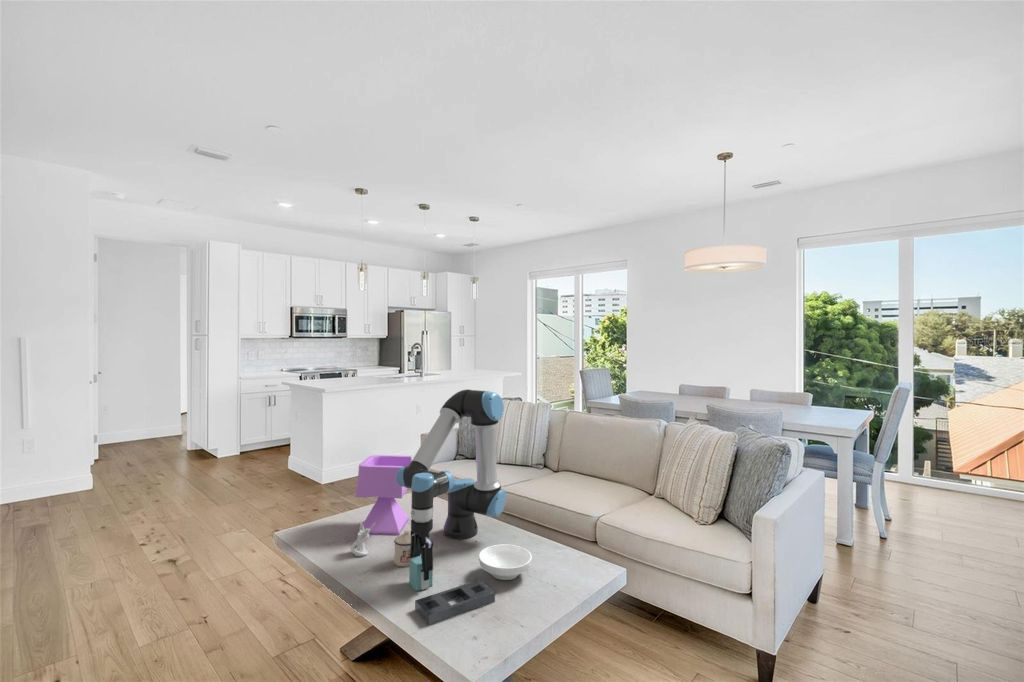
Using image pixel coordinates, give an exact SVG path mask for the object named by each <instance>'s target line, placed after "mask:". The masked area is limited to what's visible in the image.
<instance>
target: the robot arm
mask: <svg viewBox="0 0 1024 682" xmlns="http://www.w3.org/2000/svg"><path fill="white" fill-rule="evenodd" d="M503 412H504V402H503V399H502V397H501V396H500V394H499V393H497V392H493V391H490V390H479V389H477V390H476V389H463V390H459V391H457V392H456V393H454V394H453V395H451V396H450V397H449V398H448V399H447V400H446V401H445V402H444V404H443V405H442V407H441V408H440V410H439V416H438V418H436V421H435V422H434V424H433V426H432V427H431V429H430V430H429V432H428V434H427V435H426V437H425V438H424V440H423V442H422V444H421V445H420V446H419V448H418V450H417V452H416V453H415V455H414V456H413V457H412V461H411V463H410V464H409V466H403V467H401V468H400V469H399V470H398V472H397V475H396V481H397V483H398V484H399V485H400V486H403V487H406V488H408V489H411V508H410V510H411V511H410V512H409V513H410V515H411V516H410V519H411V520H410V534H411V546H410V557H411V558H413V557H417V556H421V559H422V569H423V570H421V590H420V591H423V590H427V589H429V588H430V587H429V571H431V570H434V559H433V558H434V557H433V556H434V554H433V553H434V549H433V548H434V541H431V540H430V535H429V534H430V532H432V530H433V529H434V527H433V526H434V525H433V523H434V519H433V518H434V498H437V497H438V496H442V495H443V494H445V493H447V516H446V519H445V522H444V525H443V531H442V532H443V535H444V536H445V537H448V538H451V539H454V540H455V539H456V540H464V539H465V540H466V539H470V538H472V537H475V536H476V535H478V531H479V530H478V529H479V528H478V527H479V526H478V523H477V520H476V516H475V514H478V515H481V516H482V515H483V516H486V517H492V518H493V517H494V518H497V517H499V516H500V515H501V514H502V512H503V511H504V509H505V506H506V503H507V500H508V499H507V497H508V496H507V495H508V493H507V492H506V490H504V489H502V483H501V481H500V480H499V479H498V471H497V467H498V466H497V441H496V440H497V439H496V426H497V425H498V424H499V421H500V420H501V419H502V418H503ZM463 418H470V424H471V426H473V427H474V439H475V441H474V442H475V457H476V458H475V461H476V481H475V479H473V478H471V477H470V478H468V477H467V478H458V479H455V475H454V474H453V473H452V472H451V471H450V470H441V471H439V472H437V471H432V470H430V468H431V467H432V465H433V464H434V462H435V460H436V458H437V456H438V455H439V453H440V451H441V450H442V448H443V446H444V445H445V443H446V442H447V440H448V438H449V436H450V434H451V432H452V431H453V429H454V428H455V426H456V424H459V423H460V422H461V421H462V419H463Z"/></svg>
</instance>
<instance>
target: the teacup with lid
mask: <svg viewBox="0 0 1024 682" xmlns="http://www.w3.org/2000/svg"><path fill="white" fill-rule="evenodd" d="M393 542H394V564H395V565H396V566H397V567H403V568H404V567H405V568H407V567H410V558H411V557H410V546H411V532H410V531H409V530H406V531H403V533H400V534H399V535H396V537H394V541H393Z"/></svg>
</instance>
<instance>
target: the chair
mask: <svg viewBox="0 0 1024 682" xmlns="http://www.w3.org/2000/svg"><path fill="white" fill-rule="evenodd" d="M412 460H413V456H412V455H394V454H393V455H388V454H387V455H386V454H377V455H376V454H374V455H369V456H367V458H365V459H364V460H363V461H361V463H359V465H358V474H357V483H356V489H355V498H372V497H374V498H377V500H375V503H374V505H372V508H371V510H370V511H369V513H368V514H367V517H366V518H365V520H364V521H363V522H362V523H363V527H364V530H365V529H367V528H368V529H370V528H371V527H372V525H373V524H374V523H375V525H374V526H373V528H372V529H371V530H370V532H369V534H370V535H378V536H379V535H386V536H391V535H392V536H399V535H401V532H403V528H404V527H405V525H406V523H408V520H409V516H408V515H407V513H406V511H404V509H403V508H402V507H401V505H400V504H399V503H398V501H397V500H396V499H403V497H404V496H405V494H406V492H407V491H408V489H409V488H406V487H403V486H400V485H399V484H398V483H397V481H396V475H397V472H398V470H399V469H400V468H401V467H403V466H409V464H410V463H411V461H412Z"/></svg>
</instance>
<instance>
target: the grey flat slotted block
mask: <svg viewBox="0 0 1024 682" xmlns="http://www.w3.org/2000/svg"><path fill="white" fill-rule="evenodd" d="M458 598H461V600H462V601H459V602H457V603H454V604H451V603H449V602H450V601H453V600H455V599H458ZM494 601H495V602H496V592H495V591H494V590H492V589H491V587H489V586H488V585H486V584H485V583H484V582H483V581H482V580H481V579H477V580H474V581H472V582H468V583H465V584H462V585H459V586H456V587H453V588H449V589H446V590H443V591H440V592H436V593H434V594H431V595H426V596H425V597H421V598H418V599H416V600H414V611H416V613H417V614H418V615H419V616H420V618H422V619H423V621H424V622H425V623H426V625H428V626H432V625H434V624H437V623H440V622H442V621H445V620H448V619H451V618H453V617H456V616H458V615H461V614H463V613H464V614H465V613H467V612H470V611H472V610H475V609H478V608H480V607H483V605H484V606H487V605H490V604H492V603H494ZM486 604H487V605H486Z"/></svg>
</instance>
